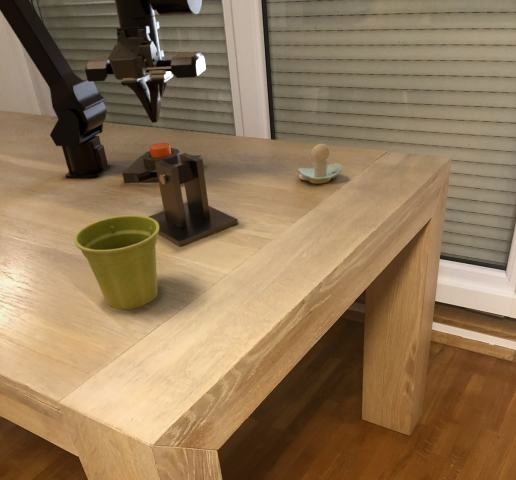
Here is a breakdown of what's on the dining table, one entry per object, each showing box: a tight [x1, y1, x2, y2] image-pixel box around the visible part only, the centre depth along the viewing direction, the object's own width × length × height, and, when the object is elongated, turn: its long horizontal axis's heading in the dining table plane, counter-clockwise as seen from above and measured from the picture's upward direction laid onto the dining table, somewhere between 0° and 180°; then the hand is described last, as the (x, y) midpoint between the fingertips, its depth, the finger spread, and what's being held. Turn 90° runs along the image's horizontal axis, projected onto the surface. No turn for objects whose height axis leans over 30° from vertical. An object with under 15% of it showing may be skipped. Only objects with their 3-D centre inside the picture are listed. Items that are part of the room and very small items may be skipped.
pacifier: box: [297, 143, 343, 185], centre depth 93 cm, size 7×6×6 cm
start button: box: [149, 142, 172, 158], centre depth 99 cm, size 4×4×2 cm
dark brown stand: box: [148, 152, 239, 248], centre depth 81 cm, size 11×10×10 cm
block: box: [121, 147, 204, 184], centre depth 101 cm, size 12×9×4 cm
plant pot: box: [73, 214, 159, 310], centre depth 65 cm, size 9×9×9 cm
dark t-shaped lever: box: [134, 163, 194, 185], centre depth 82 cm, size 11×6×2 cm, turn 38°
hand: (155, 122), depth 97 cm, fingers closed
